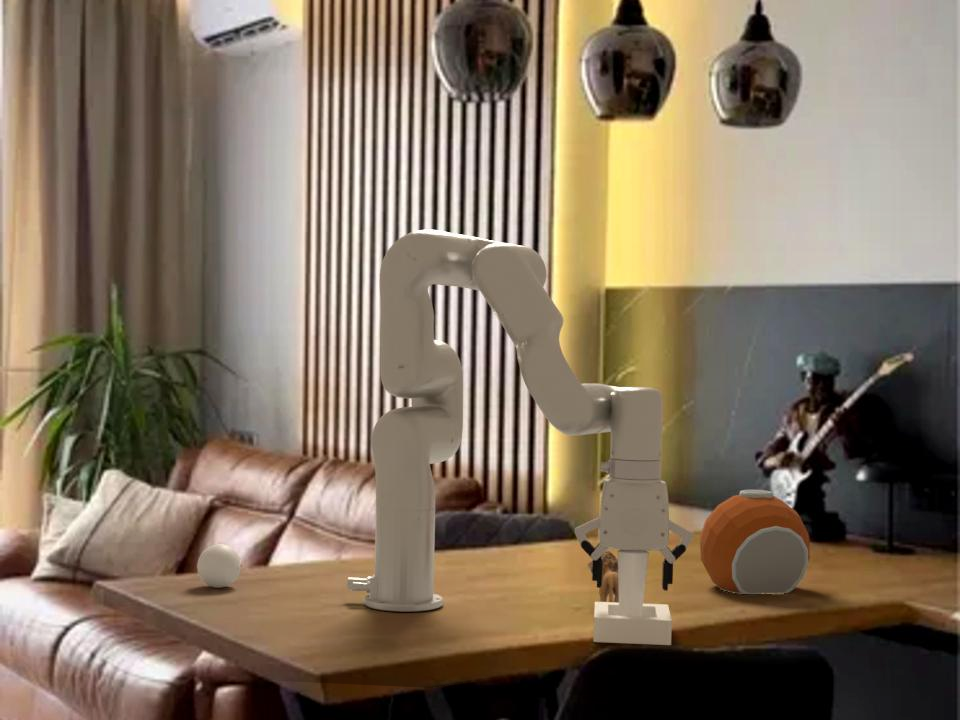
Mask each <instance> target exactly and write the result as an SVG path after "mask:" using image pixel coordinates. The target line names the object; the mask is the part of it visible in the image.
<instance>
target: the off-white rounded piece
mask: <svg viewBox="0 0 960 720" xmlns="http://www.w3.org/2000/svg"><path fill="white" fill-rule="evenodd" d="M242 566H243V565H242V561H241V558H240V555H239V553H238V552H237V551H236V550H235V549H234V547H232V546H229V545H227V544H225V543H224V544H223V543H217V544H212V545H210V546H208V547H206V548H204V550H203V551H202V552H201V554H200V556H199V557H198V560H197V564H196V569H197V574H198V576H199V577H200V579H201V581H203V582H204V583H205V584H206V586H207V585H208V586H210V587H211V588H219V589H220V588H225V587H228V586H230V585H232V584H233V583H234V582H235V581H236V580H237V579H238V578H239V575H240V574H241V568H242Z"/></svg>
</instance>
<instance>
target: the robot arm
mask: <svg viewBox="0 0 960 720" xmlns="http://www.w3.org/2000/svg"><path fill="white" fill-rule="evenodd" d="M547 275H548V274H547V268H546V263H545V262H544V260H543V258H542V256H541V255H540V254H539V253H538V252H537V251H536V250H534V249H533V248H530V247H529V246H525V245H519V244H515V243H507V242H500V241H495V240H489V239H484V238H480V237H476V236H471V235H466V234H460V233H453V232H448V231H443V230H438V229H421V230H416V231H412V232H409V233H407V234H405V235H403V236H401V237H399V238H398V239H397V240H396V241H395V242H394V243H393V244H392V245H391V246H390V247H389V248H388V250H387V252H386V253H385V255H384V257H383V259H382V262H381V265H380V270H379V294H380V295H379V297H380V298H379V299H380V343H379V344H380V348H379V351H380V356H379V357H380V359H379V360H380V363H379V365H380V369H379V371H380V372H379V373H380V378H381V379H380V380H381V384H382V386H383V388H384V390H385V391H386V392H387V393H388V394H390V395H391V396H393V397H396V398H399V399H411V403H410V404H411V406H403V407H397V408H394V409H391V410H388V411H387V412H386V413H384V414H382V415H381V416H380V417H379V418H378V420H377V422H375V424H374V427H373V430H372V434H371V451H372V458H373V459H372V460H373V463H374V464H373V465H374V470H375V471H374V473H375V475H374V476H375V528H374V529H375V530H374V531H375V533H374V535H375V537H374V539H375V541H374V542H375V543H374V573H373V575H372V576H367V578H360V577H348V578H347V583H346V584H347V585H346V586H347V590H352V591H353V592H361V591H363V592H364V591H365V592H366V593H369V594H366V595H365V596H364V597H363V598H364V599H363V600H364V601H363V604H364V605H365V606H366V607H368V608H370V609H373V610H374V609H375V610H379V611H387V612H400V613H401V612H409V613H410V612H424V611H431V610H435V609H439V608H441V607H442V606H443V604H444V597H442V596H441V595H439V594H437V593H434V583H435V582H434V580H435V578H434V577H435V575H434V573H435V543H436V542H435V537H436V535H435V534H436V533H435V532H436V531H435V530H436V487H435V480H434V476H433V473H432V469H431V465H432V464H438V463H442V462H445V461H447V460H449V459H450V458H452V457H453V456H454V455H455V454H456V453H457V452H458V450H459V448H460V446H461V442H462V438H463V429H464V423H463V422H464V375H463V373H464V372H463V368H462V363H461V360H460V357H459V355H458V354H457V352H456V350H455V349H453V347H452V346H451V345H449V344H448V343H446V342H444V341H441V340H438V339H435V331H434V330H435V329H434V327H435V326H434V325H435V324H434V323H435V314H434V313H435V312H434V308H433V302H432V300H431V296H430V293H429V287H430V286H432V285H439V286H448V287H449V286H450V287H457V288H463V289H470V290H474V291H479V292H480V293H481V295H482V297H484V300H485V301H486V303H487V304H488V305H489V307H490V308H491V310H492V312H493V313H494V315H495V316H496V318H497V320H498V321H499V322H500V324H501V326H502V327H503V328H504V330H505V332H506V333H507V335H508V337H509V338H510V340H511V342H512V343H513V345H514V347H515V348H516V356H517V357H516V358H517V362H518V365H519V370H520V372H521V376H522V378H523V382H524V384H525V387H526V388H527V389H526V390H528V393H529V394H530V395H531V397H532V398H533V401H534V403H536V405H537V406H538V408H539V410H540V411H541V412H542V414H543V416H544V417H545V418H546V420H547V421H548V422H549V423H550V425H552V427H554V428H555V430H557V431H559V432H560V433H562V434H564V435H567V436H573V437H574V436H586V435H594V434H600V433H601V434H603V433H609V432H610V445H609V446H610V449H609V451H610V452H609V457H610V458H609V460H607V461H605V462H604V461H603V462H602V461H600V463H599V472H604V473H607V474H608V475H609V478H605V480H604V481H603V486H602V490H601V497H600V504H599V505H600V506H599V507H600V508H599V516H598V517H595V518H594V519H592V520H589V521H587V522H585V523H583V524H581V525H579V526H577V527H575V528H574V534H575V536H576V538H577V540H578V543H579V544H580V547H581V549H583V551H584V552H585V553H586V554H587V555H588V556H589V557H590V558H591V561H593V569H592V573H591V576H592V577H591V580H592V581H593V582H596V588H597V589H600V587H602V559H601V555H602V554H603V553H604V552H605V551H608V549H609V550H618V551H619V550H643V551H647V552H648V551H650V552H651V551H652V552H654V551H655V552H659V553H660V554H661V555H662V556H663V558H664V560H663V561H662V575H661V576H662V579H661V580H662V581H661V587H662V590H663V591H665V592H666V591H668V590H669V585H673V581H674V580H673V579H674V577H673V576H674V563H675V562H676V561H677V560H678V559H679V558H680V557H681V556H682V555H683V554H684V553H685V552H686V550H687V548H688V547H689V546H690V544H691V542H692V540H693V538H694V534H693V532H691V531H690V530H689V529H686V528H685V527H684V526H683V527H682V526H681V525H679V524H677V523H676V522H674V521H673V520H671V519H670V506H669V494H668V487H667V483H666V482H667V481H664V480H662V453H663V452H662V451H663V450H662V449H663V423H664V422H663V419H664V418H663V417H664V397H663V394H662V392H661V390H659V389H656V388H654V387H641V386H621V387H620V386H613V385H609V384H605V383H581V381H580V379H578V377H577V375H576V374H575V372H574V371H573V370H572V368H571V366H570V365H569V363H568V361H567V359H566V357H565V355H564V353H563V351H562V348H561V343H560V335H561V331H562V328H563V325H564V317H563V315H562V313H561V311H560V310H559V309H558V307H557V305H556V304H555V302H554V301H553V300H552V298H551V297H550V295H549V294H548V292H547V290H546V288H544V286H545V284H546V282H547V277H548V276H547ZM596 529H598V544H596V546H594V545H593V544H592V543H591V542H590V541H589V540H588V538H587V536H586V534H587V533H589V532H591V531H594V530H596ZM670 532H672V533H674V534H676V535H677V536H679V537H681V539H680V541H679V543H678V544H677V545H676V546H675V547H674V548H673V549H672V550H671V549H670V548H669V546H668V545H669V539H670V536H669V535H670Z"/></svg>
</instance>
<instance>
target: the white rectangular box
mask: <svg viewBox="0 0 960 720" xmlns="http://www.w3.org/2000/svg"><path fill="white" fill-rule="evenodd" d="M593 614H594V615H593V616H594V617H593V618H594V619H593V642H594V643H609V644H610V643H611V644H612V643H613V644H630V645H631V644H635V645H636V644H637V645H658V646H661V645H662V646H672V625H673V621H672V620H673V619H672V615H671V612H670V608H669V604H662V603H643V610H642V617H638V616H619V603H617V602H614V601H613V602H609V601H606V602H600V601H594V612H593Z"/></svg>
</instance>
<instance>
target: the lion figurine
mask: <svg viewBox="0 0 960 720" xmlns="http://www.w3.org/2000/svg"><path fill="white" fill-rule="evenodd" d="M601 559H602V587H600V588H598V590H599V593H598V594H599V597H600V599H599V600H600V601H599V602H607V599H609V601H608V602H617V603H619V589H618V558H617V556H615V555H614V554H613V553H612V552H611V551H610V550H606V551H605V552H604V553H603V554H602V555H601ZM587 566H588V569H589V570H590V573H591V574H592V569H593V560H591V561H589V562H587ZM613 596H614V597H613ZM613 598H614V599H613Z"/></svg>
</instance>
